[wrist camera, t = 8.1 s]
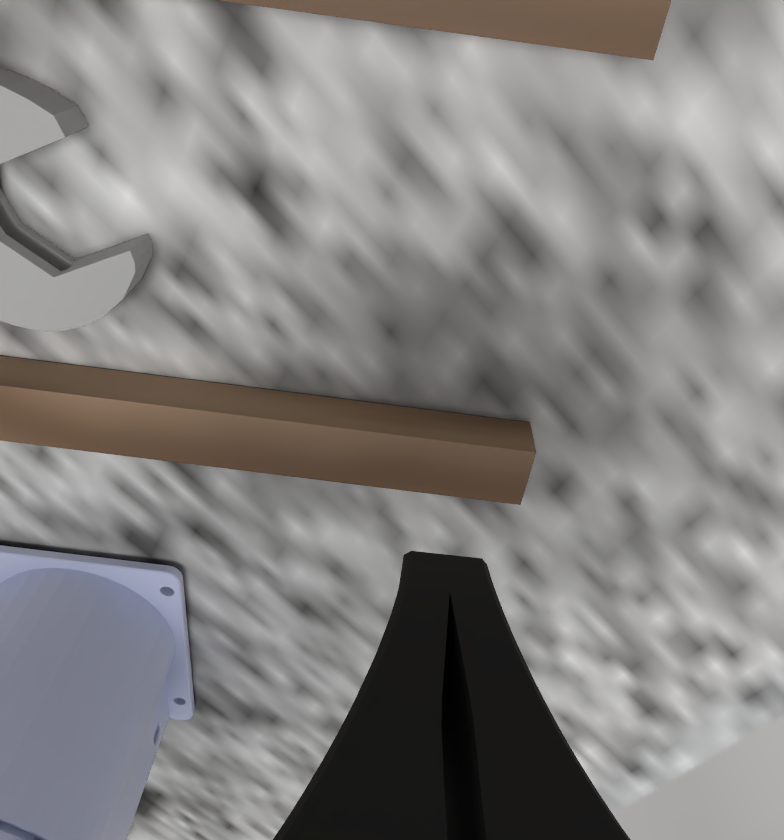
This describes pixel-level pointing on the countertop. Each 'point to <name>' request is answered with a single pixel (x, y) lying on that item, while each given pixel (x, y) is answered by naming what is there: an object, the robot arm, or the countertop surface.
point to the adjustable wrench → (31, 253)
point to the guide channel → (309, 414)
